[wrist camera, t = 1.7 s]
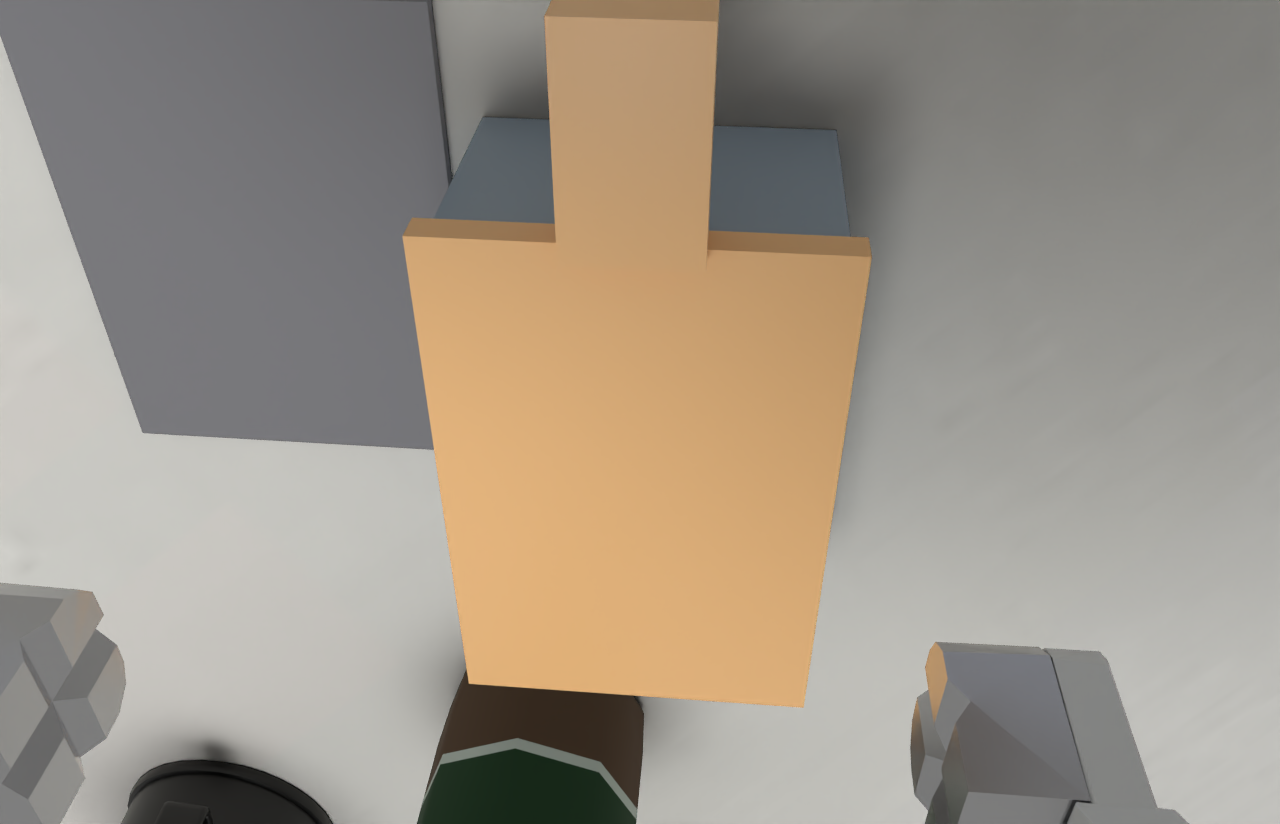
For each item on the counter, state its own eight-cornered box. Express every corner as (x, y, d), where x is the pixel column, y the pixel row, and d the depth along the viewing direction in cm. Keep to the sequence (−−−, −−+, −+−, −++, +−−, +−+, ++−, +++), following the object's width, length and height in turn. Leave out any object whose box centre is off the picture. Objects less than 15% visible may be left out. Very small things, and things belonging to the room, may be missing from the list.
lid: (902, -6, 20) (912, 27, 19) (801, 673, 32) (803, 725, 31) (385, -22, 21) (357, 10, 19) (477, 650, 33) (464, 700, 31)
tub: (836, 130, 28) (852, 249, 23) (788, 531, 36) (792, 677, 32) (482, 116, 28) (427, 230, 23) (518, 514, 37) (483, 655, 32)
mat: (431, -4, 26) (426, 2, 26) (481, 444, 35) (479, 452, 35) (-8, -17, 27) (-17, -12, 27) (148, 425, 36) (142, 433, 35)
